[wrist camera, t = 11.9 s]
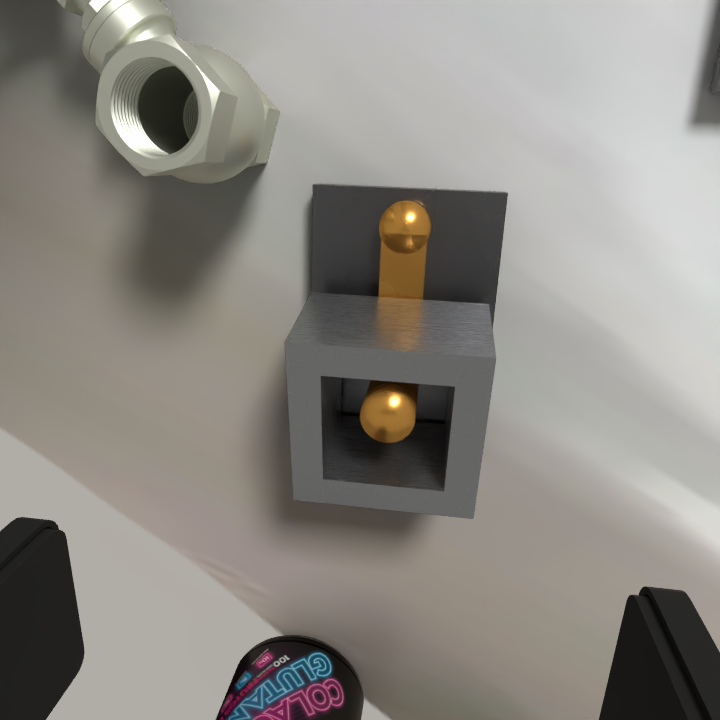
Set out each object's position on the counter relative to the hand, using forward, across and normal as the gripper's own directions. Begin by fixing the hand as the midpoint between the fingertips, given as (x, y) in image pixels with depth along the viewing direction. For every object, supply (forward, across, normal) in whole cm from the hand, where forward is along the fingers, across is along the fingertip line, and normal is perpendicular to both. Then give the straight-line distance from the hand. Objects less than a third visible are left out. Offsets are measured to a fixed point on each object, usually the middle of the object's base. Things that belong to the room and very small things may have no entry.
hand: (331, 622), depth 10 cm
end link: (+14, 0, +1) cm, 14 cm away
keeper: (+15, 0, 0) cm, 15 cm away
